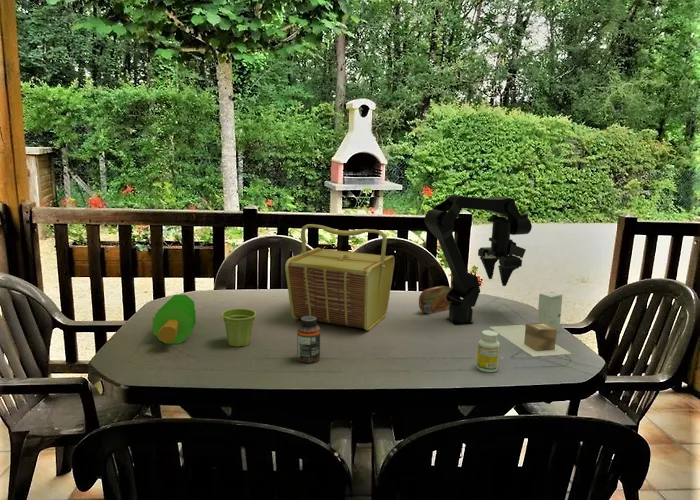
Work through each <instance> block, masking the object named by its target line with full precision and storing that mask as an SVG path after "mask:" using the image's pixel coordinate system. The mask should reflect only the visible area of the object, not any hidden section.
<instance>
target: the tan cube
mask: <svg viewBox="0 0 700 500" xmlns="http://www.w3.org/2000/svg"><path fill="white" fill-rule="evenodd" d="M525 326H526V329H525V340H524V344H526V345H527V346H529V347H530V348H532V349H533V350H535V351H544V350H555V344H556V341H557V340H556V339H557V333H558V332H557V329H555V328H553V327H552V326H550V325H548V324H546V323H537V322H536V323H535V322H534V323H533V322H531V323H525Z"/></svg>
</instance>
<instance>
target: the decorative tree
mask: <svg viewBox="0 0 700 500" xmlns="http://www.w3.org/2000/svg"><path fill="white" fill-rule="evenodd" d="M154 314H155V315H154V316H153V318H152V334H153V335H154V336H155V337H156V338H158V340H159V341H160V342H162V343H164V344H165V345H166V344H170V345H171V344H182V343H183V342H184V341H185V340H186V339H187V338H189V336H190V335H191V334H192V333H193V329H194V327H195V325H196V324H197V322H196V320H197V318H196V309H195V301H194V300H193V299H191V298H190V297H189V296H188V295H187V294H174V295H172V297H170V299H169V300H167V301H166V302H165V303H164V304H163V305H162V306H161V307H160V308H159V309H158V310H157V312H156V313H154Z"/></svg>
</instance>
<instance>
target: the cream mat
mask: <svg viewBox="0 0 700 500" xmlns="http://www.w3.org/2000/svg"><path fill="white" fill-rule="evenodd" d="M489 328H490V329H492V331H495V332H497V333H498V335H500V336H502V337H503V338H505V339H506V340H508V341H509V342H511V343H512V344H514V345H516V347H518V348H520V349H521V350H523V351H524V352H525V353H527V354H528V355H530V356H531V357H533V358H534V357H544V356H546V357H547V356H560V355H572V352H570V351H568V350H567V349H565V348H563V347H561V346H560V345H558V344H556V343H555V350H544V351H535V350H533V349H532V348H530V347H529V346H527V345H526V344H524V340H525V329H526V325H524V324H514V325H498V326H495V325H494V326H489Z"/></svg>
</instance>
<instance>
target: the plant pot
mask: <svg viewBox="0 0 700 500" xmlns="http://www.w3.org/2000/svg"><path fill="white" fill-rule="evenodd" d="M256 316H257V312H256V311H255V310H253V309H249V308H231V309H228V310H224V311H222V313H221V317H222V319H223V322H224V324H225V326H224V327H225V333H226V339H227V343H228V345H229V346H231V347H237V348H238V347H241V346H243V347H246V346H248V345H250V344H251V340H252V333H253V332H252V331H253V327H254V325H253V324H254V321H255V317H256Z"/></svg>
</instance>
